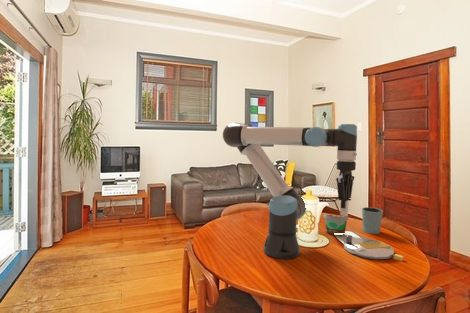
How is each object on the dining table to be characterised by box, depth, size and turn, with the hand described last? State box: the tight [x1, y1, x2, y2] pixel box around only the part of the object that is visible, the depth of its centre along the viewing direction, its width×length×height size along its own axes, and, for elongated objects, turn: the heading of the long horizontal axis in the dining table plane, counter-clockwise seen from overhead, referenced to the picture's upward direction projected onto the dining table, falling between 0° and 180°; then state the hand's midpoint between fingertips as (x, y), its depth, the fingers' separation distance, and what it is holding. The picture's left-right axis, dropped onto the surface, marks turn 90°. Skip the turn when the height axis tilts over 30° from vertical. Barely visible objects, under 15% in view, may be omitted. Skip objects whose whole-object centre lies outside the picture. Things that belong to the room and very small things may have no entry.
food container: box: [323, 213, 349, 236], centre depth 148 cm, size 12×6×10 cm, turn 68°
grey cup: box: [361, 206, 384, 235], centre depth 155 cm, size 10×10×12 cm
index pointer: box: [392, 253, 404, 262], centre depth 119 cm, size 3×2×2 cm, turn 46°
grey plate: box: [343, 234, 395, 260], centre depth 127 cm, size 20×20×6 cm
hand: (344, 215), depth 124 cm, fingers closed
